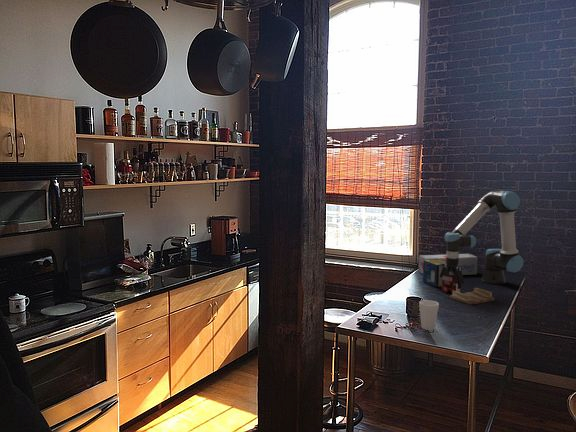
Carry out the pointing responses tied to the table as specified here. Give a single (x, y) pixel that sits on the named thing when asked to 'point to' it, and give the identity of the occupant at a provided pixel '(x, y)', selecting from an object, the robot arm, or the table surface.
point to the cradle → (473, 296)
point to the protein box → (433, 272)
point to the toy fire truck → (449, 284)
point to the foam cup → (428, 314)
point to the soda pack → (465, 262)
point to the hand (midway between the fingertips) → (450, 291)
